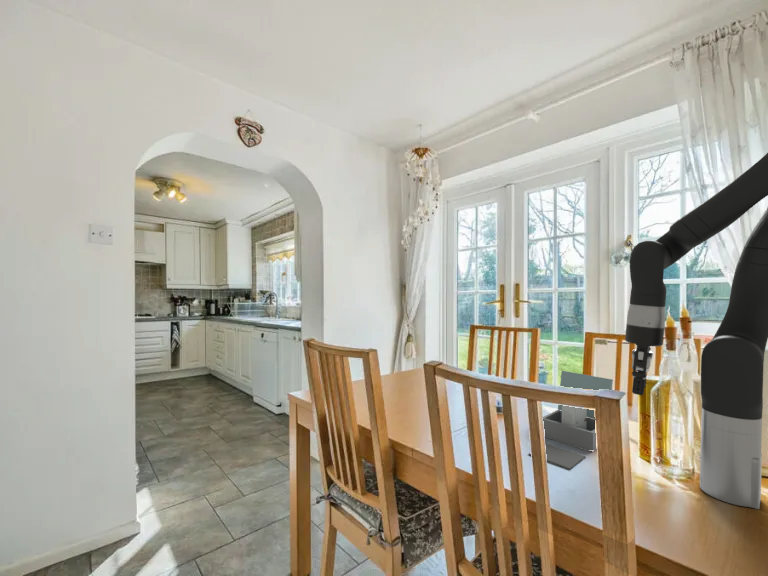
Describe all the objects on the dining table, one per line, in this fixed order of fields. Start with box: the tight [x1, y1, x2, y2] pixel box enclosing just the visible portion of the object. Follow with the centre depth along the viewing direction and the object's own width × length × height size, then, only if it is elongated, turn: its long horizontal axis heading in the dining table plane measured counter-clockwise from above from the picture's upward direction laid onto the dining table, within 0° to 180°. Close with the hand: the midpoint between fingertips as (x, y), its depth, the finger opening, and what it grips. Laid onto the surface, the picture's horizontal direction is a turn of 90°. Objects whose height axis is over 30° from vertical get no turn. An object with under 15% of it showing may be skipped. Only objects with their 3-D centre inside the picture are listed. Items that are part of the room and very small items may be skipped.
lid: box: [557, 370, 614, 420], centre depth 111 cm, size 14×12×1 cm
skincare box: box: [562, 405, 587, 430], centre depth 106 cm, size 6×4×12 cm
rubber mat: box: [528, 442, 587, 471], centre depth 94 cm, size 10×10×1 cm
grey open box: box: [542, 409, 597, 451], centre depth 106 cm, size 14×12×5 cm
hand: (638, 390), depth 90 cm, fingers open, 8 cm apart
